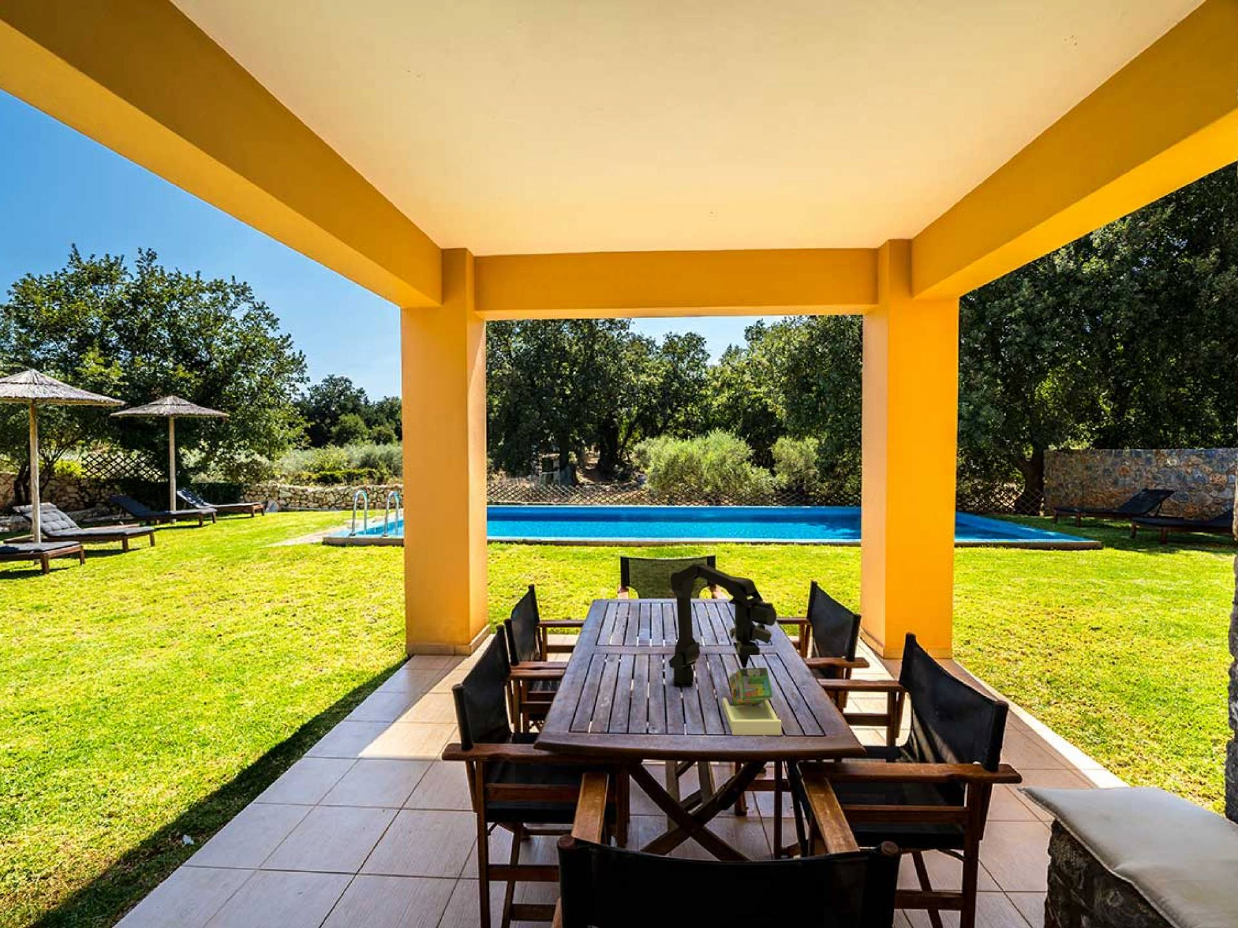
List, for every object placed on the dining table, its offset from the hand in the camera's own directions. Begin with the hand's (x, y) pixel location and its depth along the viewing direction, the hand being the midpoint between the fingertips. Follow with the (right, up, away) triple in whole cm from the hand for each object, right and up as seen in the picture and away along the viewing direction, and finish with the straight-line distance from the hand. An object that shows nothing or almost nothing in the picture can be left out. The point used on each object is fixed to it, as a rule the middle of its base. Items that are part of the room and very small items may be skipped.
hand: (744, 667), depth 188 cm
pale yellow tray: (0, -13, -9) cm, 16 cm away
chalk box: (0, -8, +2) cm, 9 cm away
